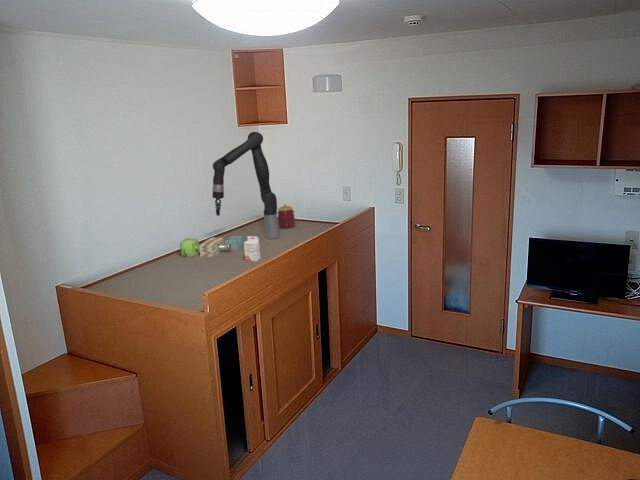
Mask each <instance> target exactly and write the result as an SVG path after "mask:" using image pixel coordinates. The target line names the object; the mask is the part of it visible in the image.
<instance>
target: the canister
mask: <svg viewBox="0 0 640 480" xmlns="http://www.w3.org/2000/svg"><path fill="white" fill-rule="evenodd" d="M294 213H295V211H294V209H293V207H291V206H289V205H288V206H287V204H283V205H282V206H281V207H279V208H277V222H278V224H279V229H292V228H295V226H296V222H295V221H296V220H295V214H294Z"/></svg>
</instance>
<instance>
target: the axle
mask: <svg viewBox="0 0 640 480" xmlns="http://www.w3.org/2000/svg"><path fill="white" fill-rule="evenodd" d="M217 248H218V250H220V249H223V250H227V251H231V250H232V249H231V244H228V245H225V244H224V245H217Z"/></svg>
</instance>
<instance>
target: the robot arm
mask: <svg viewBox="0 0 640 480" xmlns="http://www.w3.org/2000/svg"><path fill="white" fill-rule="evenodd" d="M263 140H264V135H263V134H262V133H260V132H258V131H251V132H250V133H249V134H248V136H247V140H246V141H244V142H243V143H241V144H240V145H238V146H236V147H235V148H233V149H231V150H230V151H229V152H227V153H225V154H224V156H222V157H220V158H218V159H216V160H215V161H214V162H213V163H212V169H213V170H214V171H213V174H214V175H213V178H212V179H213V180H212V198H213V199H215V200H214V205H215V214H216V216H218V217H219V216H220V215H221V207H222V206H221V205H222V200H221V199H223V198H225V197H224V196H225V187H224V186H225V185H224V180H225V178H224V177H225V169H226V167H227V166H229V165H231V164H232V163H234V162H235V161H237V160H238V159H239V158H241V157H242V156H244V155H245V154H246V153H247V152H249V151H251V155H252V161H253V166H254V170H255V174H256V178H257V181H258V184H259V185H258V186H259V190H260V191H259V192H260V199H261V201H262V203H263V205H264V210H263V219H264V220H263V222H264V230H265V239H267V240H274V239H275V240H276V239H279V237H280V234H281V233H280V228H279V224H278V213H277V212H278V201H277V196H276V193H274V192H272V189H271V184H270V169H269V165H268V161H267V159H266V157H265V154H264V152H263V148H262V143H263V142H264V141H263Z"/></svg>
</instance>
